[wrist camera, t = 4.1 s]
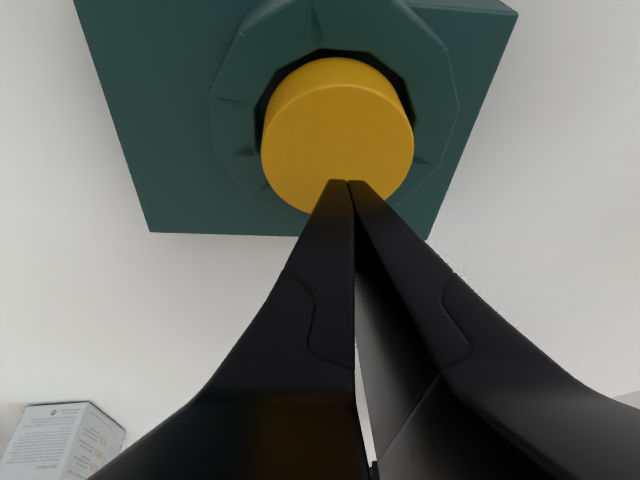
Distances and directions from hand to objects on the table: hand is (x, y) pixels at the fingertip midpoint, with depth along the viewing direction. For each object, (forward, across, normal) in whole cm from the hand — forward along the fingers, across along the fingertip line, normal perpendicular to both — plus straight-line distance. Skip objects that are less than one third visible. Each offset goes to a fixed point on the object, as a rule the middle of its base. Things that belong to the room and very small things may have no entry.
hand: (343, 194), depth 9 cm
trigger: (+3, 0, 0) cm, 3 cm away
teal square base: (+7, +1, +2) cm, 7 cm away
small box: (+7, +20, +33) cm, 39 cm away
